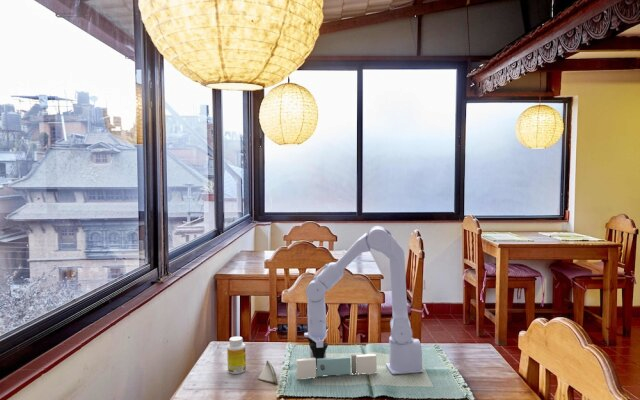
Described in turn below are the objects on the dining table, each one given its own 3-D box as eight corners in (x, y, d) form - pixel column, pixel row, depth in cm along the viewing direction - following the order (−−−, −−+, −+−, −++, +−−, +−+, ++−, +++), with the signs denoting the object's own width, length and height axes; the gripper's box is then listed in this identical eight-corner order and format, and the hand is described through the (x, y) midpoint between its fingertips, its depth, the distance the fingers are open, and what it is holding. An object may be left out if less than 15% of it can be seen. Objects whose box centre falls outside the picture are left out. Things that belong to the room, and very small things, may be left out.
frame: (375, 371, 142) (375, 352, 141) (376, 373, 140) (376, 354, 140) (297, 377, 139) (296, 358, 139) (297, 379, 137) (296, 360, 137)
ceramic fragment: (278, 386, 134) (278, 372, 134) (260, 388, 133) (260, 375, 133) (270, 368, 148) (269, 356, 148) (253, 370, 146) (253, 358, 146)
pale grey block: (324, 363, 149) (323, 346, 148) (326, 368, 144) (325, 351, 144) (310, 364, 148) (309, 347, 148) (311, 370, 144) (311, 352, 144)
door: (350, 372, 140) (349, 356, 140) (351, 375, 138) (351, 359, 138) (317, 375, 139) (316, 358, 139) (318, 378, 137) (317, 361, 137)
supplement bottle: (247, 373, 143) (246, 340, 142) (229, 376, 141) (228, 342, 140) (244, 366, 148) (243, 334, 147) (226, 369, 146) (225, 336, 146)
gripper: (302, 313, 152) (303, 354, 153) (305, 327, 138) (307, 372, 139) (323, 311, 153) (324, 352, 154) (329, 325, 139) (330, 370, 139)
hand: (317, 362), depth 146 cm, fingers closed on pale grey block, 4 cm apart
